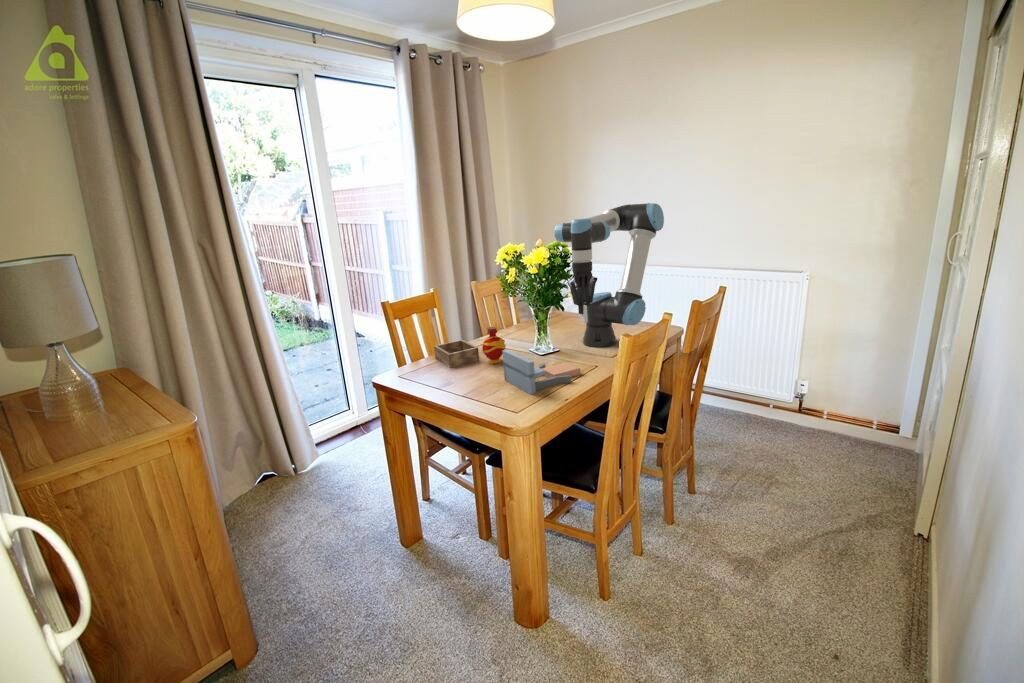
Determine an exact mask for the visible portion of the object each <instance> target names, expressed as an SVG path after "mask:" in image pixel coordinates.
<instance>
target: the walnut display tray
mask: <svg viewBox="0 0 1024 683" xmlns="http://www.w3.org/2000/svg"><path fill="white" fill-rule="evenodd" d="M433 351H434V358H435V360H437V361H439V362H441V363H442V364H444V365H445V366H446V367H448V368H450V369H452V368H455V367H459V366H464V365H467V364H470V363H471V364H472V363H475V362H479V361H480V354H479V347H477V346H476V345H473V344H472V343H469V342H467V341H466V340H464V339H458V340H454V341H449V342H445V343H441V344H440V343H439V344H435V345H433Z"/></svg>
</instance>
